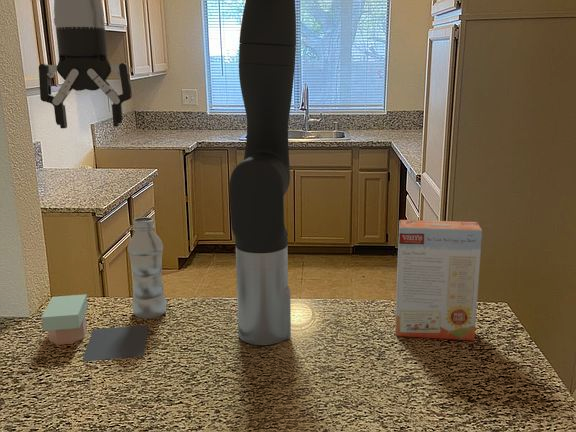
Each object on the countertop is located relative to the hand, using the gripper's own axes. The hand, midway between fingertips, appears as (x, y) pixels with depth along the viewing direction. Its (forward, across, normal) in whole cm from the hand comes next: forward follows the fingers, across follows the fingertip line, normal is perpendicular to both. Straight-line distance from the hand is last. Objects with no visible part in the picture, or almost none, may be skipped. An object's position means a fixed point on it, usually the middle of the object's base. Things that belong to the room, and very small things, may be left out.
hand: (90, 127), depth 95 cm
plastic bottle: (+38, -7, -6) cm, 39 cm away
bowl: (+38, +7, +2) cm, 39 cm away
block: (+34, +7, +2) cm, 34 cm away
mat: (+38, -2, +6) cm, 39 cm away
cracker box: (+38, -59, +11) cm, 71 cm away
